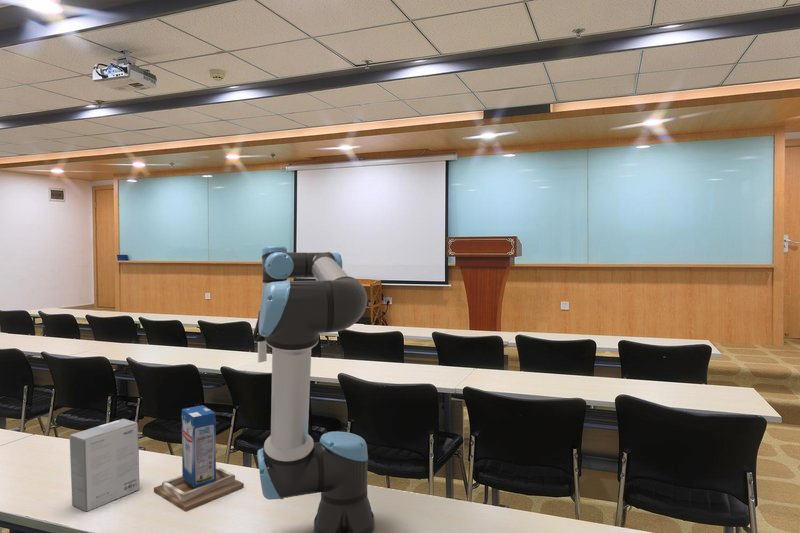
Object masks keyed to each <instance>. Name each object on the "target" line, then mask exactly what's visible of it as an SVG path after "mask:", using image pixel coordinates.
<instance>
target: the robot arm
mask: <svg viewBox="0 0 800 533" xmlns="http://www.w3.org/2000/svg"><path fill="white" fill-rule="evenodd" d="M261 250H262V252H261V253H262V254H261V260H262V261H261V263H262V264H261V266H262V267H261V268H262V269H261V271H262V283H261V284H262V290H261V292H262V295H261V298H260V299H261V300H260V304H259V305H260V308H259V310H258V316H257V321H256V324H255V326H254V331H253V333H252V338H253V339H254V340H256V342H257V344H256V345H257V346H256V347H257V348H256V349H257V362H258V363H264V362H267V346H268V347H270V348H271V350H272V354H271V355H272V356H271V357H272V358H271V398H270V399H271V401H270V403H271V406H270V407H271V410H270V412H271V414H270V435H269V436H268V437H266V440H265V441H264V444H263V447H262V448H260V449H257V464H258V469H259V470H258V471H259V479H260V486H261V491H262V495H263V497H264V498H265V499H266V500H270V501H271V500H284V499H287V498H292V497H300V496H307V495H312V494H319V493H320V501H319V503H318V507H317V511H316V515H315V517H314V519H313V532H314V533H373V532H374V531H375V514H374V513H373V510H372V507H371V506H372V505H371V502H370V500H369V495H368V460H369V455H368V444H367V443H366V442H367V441H366V440H365V439H364V438H363V437H362V436H360V435H357V434H355V433H351V432H348V431H347V432H346V431H328V432H326V433H323V434H322V435H320V438H319V441H318V442H317V441H316V442H314V439H313V438H312V436H311V435H310V434H309V416H310V414H309V413H310V412H309V411H310V392H311V391H310V390H311V389H310V388H311V386H310V385H311V368H312V367H311V366H312V349H313V348H315V347H316V346H317V345H318V343H319V340H320V339H319V338H320V334H325V333H327V334H328V333H337V332H342V331H344V330H346V329H348V328H351V327H352V326H353V325H355V324H356V323H357V322H358V321H359V320H360V319H361V318H362V316H363V315H364V314H365V311H366V308H367V306H368V294H367V291H366V289H365V286H363V284H362V283H361V282H360V281H359V280H358V279H357V278H355V277H354V276H349V275H348V274H347V272H345V271H344V270H343V258H342V255H341V254H340V253H339V252H331V251H327V252H326V251H325V252H293V251H291V252H288V248H287V247H286V246H283V245H280V246H279V245H276V246H273V245H271V246H270V245H267V246H266V245H265V246H263V247H262V249H261ZM288 279H314V280H288Z"/></svg>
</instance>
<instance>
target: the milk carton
mask: <svg viewBox="0 0 800 533" xmlns="http://www.w3.org/2000/svg"><path fill="white" fill-rule="evenodd" d="M216 433H217V432H216V412H215V411H214V410H211V409H210V408H209V407H207V406H205V405H203V404H202V405H197V406H191V407H185V408H182V409H181V461H182V462H181V464H182V465H181V466H182V475H181V476H183V477H184V478H185V479H186V480H187V481H188V482H189V483H190V484H191V485H192V486H193V487H194V488H195V487H198V486H202V485H205V484H208V483H212V482H215V481H216V466H217V461H216V460H217V454H216V453H217V450H216V448H217V447H216V445H217V440H216Z"/></svg>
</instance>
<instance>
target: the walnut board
mask: <svg viewBox="0 0 800 533" xmlns="http://www.w3.org/2000/svg"><path fill="white" fill-rule="evenodd" d="M244 485H245V483H244V482H241V481H240V480H237V479H236V475H235V474H233V473H231V472H229V471H228V470H225V469H223V468H221V467H219V466H218V465H216V481H215V482H212V483H208V484H205V485H202V486H198V487H195V488H194V487H193V486H192V485H191V484H190V483H189V482H188V481H187V480H186V479H185V478H184V477H183V476H182V475H180V476H177V477H175V478H172V479H169V480H165V481H162V482H161V485H157V486H154V487H153V493H155V494H157V495H158V496H159V497H161V498H163V499H164V500H165V501H168V502H170V503H171V504H173V505H174V506H176V507H177V508H178V509H181V510H182V511H184V512H188V511H190V510H193V509H195V508H197V507H200V506H202V505H205V504H207V503H210V502H211V501H215V500H217V499H219V498H222V497H225V496H226V495H229V494H232V493H234V492H237V491H238V490H241V489H243V488H245V486H244Z"/></svg>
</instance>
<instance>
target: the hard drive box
mask: <svg viewBox="0 0 800 533" xmlns="http://www.w3.org/2000/svg"><path fill="white" fill-rule="evenodd" d="M139 454H140V450H139V423H138V422H136V421H133V420H129V419H126V418H121V419H118V420H117V419H116V420H114V421H111V422H108V423H104V424H101V425H98V426H95V427H94V426H93V427H90V428H88V429H85V430H81V431H78V432H75V433H72V434H69V456H70V458H69V460H70V481H71V482H70V483H71V505H73V506H72V507H75V508H76V509H79V510H81V511H83V512H86V513H87V512H89V511H92V510H94V509H97V508H99V507H101V506H104V505H106V504H108V503H111V502H113V501H115V500H118V499H119V498H122V497H125V496H128V495H130V494H132V493H134V492H136V491H139V490H140V489H141V488H140V487H141V486H140V456H139Z"/></svg>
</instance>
